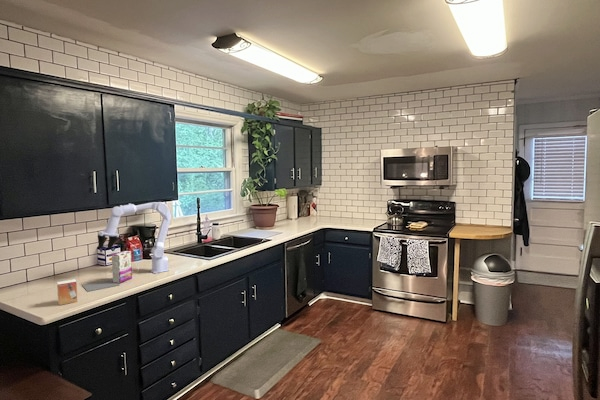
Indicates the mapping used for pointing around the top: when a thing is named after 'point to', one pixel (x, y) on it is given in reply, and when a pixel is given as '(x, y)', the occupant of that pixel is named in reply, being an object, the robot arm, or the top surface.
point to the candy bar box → (121, 266)
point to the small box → (67, 292)
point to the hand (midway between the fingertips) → (104, 247)
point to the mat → (99, 285)
